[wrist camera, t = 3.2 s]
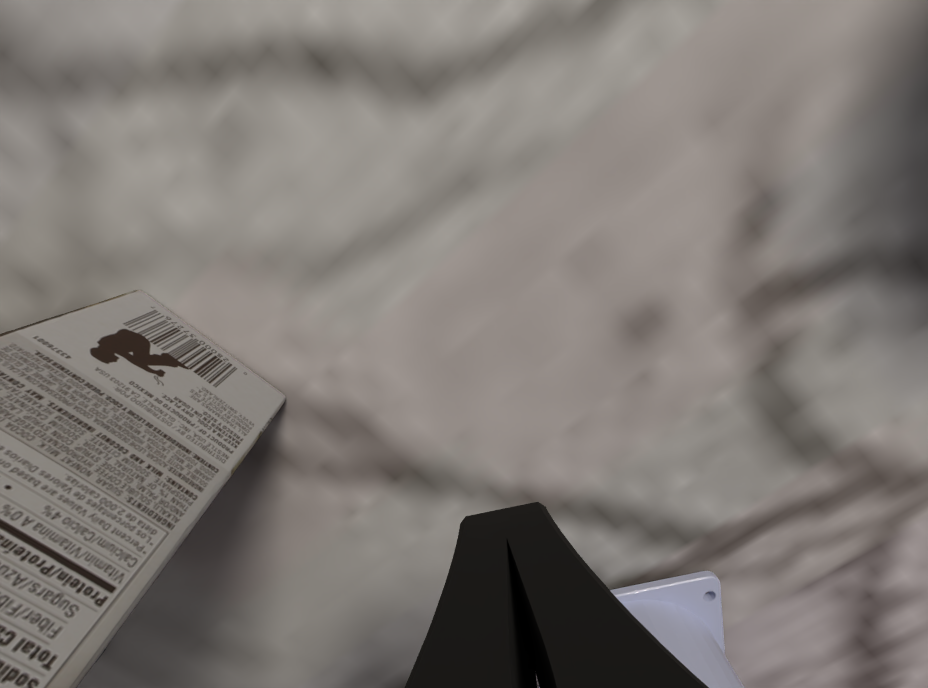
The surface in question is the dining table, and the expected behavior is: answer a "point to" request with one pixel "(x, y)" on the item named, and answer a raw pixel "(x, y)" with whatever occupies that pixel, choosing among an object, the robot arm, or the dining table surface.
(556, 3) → the dining table surface
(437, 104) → the dining table surface
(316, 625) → the dining table surface
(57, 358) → the coffee box
